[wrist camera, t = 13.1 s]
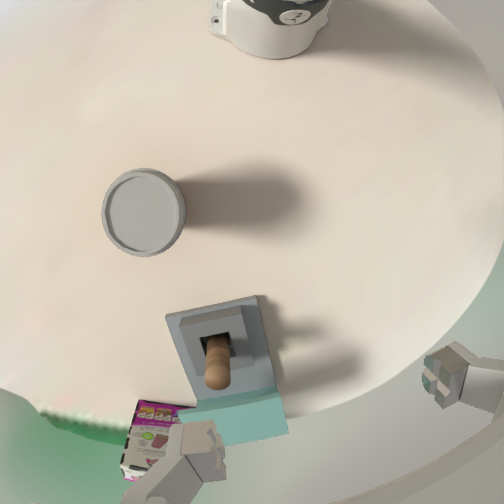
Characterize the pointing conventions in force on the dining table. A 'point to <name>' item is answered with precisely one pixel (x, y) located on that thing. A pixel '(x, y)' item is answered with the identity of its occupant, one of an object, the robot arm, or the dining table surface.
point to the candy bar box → (147, 437)
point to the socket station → (241, 369)
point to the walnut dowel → (218, 362)
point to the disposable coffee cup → (143, 212)
